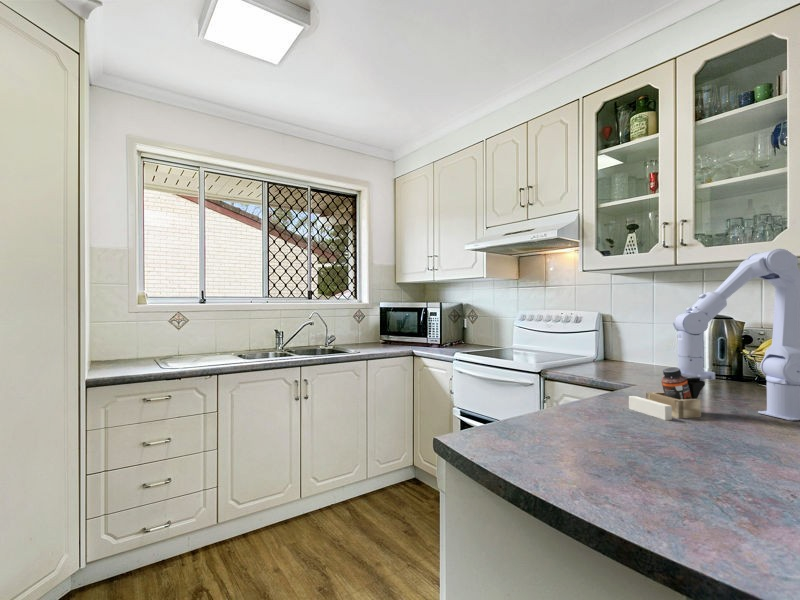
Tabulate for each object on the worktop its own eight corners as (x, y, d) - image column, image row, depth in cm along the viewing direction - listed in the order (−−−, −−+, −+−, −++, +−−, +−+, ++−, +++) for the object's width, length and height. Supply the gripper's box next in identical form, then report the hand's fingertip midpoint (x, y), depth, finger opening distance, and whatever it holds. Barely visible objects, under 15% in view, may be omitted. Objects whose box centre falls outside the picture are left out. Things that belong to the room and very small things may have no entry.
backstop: (634, 408, 116) (634, 395, 116) (671, 419, 104) (671, 405, 104) (628, 408, 115) (628, 396, 115) (665, 420, 103) (665, 406, 104)
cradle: (666, 407, 117) (666, 391, 117) (700, 417, 107) (700, 399, 107) (646, 408, 115) (646, 392, 116) (678, 418, 105) (678, 400, 105)
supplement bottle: (693, 413, 108) (682, 372, 107) (667, 413, 112) (656, 373, 111) (695, 404, 112) (685, 365, 112) (669, 404, 116) (660, 366, 116)
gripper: (681, 358, 107) (681, 410, 107) (725, 357, 110) (726, 408, 110) (658, 355, 114) (659, 404, 114) (701, 354, 117) (701, 402, 117)
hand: (690, 406), depth 113 cm, fingers closed, pressing on supplement bottle
